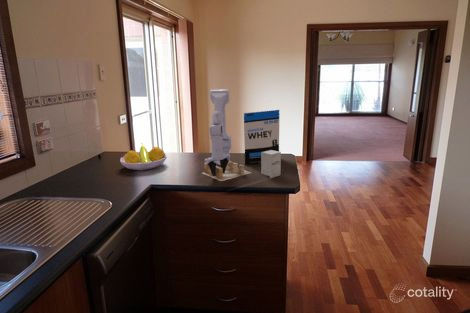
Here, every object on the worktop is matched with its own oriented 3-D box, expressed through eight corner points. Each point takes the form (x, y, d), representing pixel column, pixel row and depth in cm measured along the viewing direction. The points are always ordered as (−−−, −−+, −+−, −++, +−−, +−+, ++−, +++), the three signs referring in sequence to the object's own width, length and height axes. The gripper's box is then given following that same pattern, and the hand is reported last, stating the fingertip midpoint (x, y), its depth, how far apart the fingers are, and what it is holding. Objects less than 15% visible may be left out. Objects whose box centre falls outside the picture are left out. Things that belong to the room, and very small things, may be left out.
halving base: (201, 174, 178) (200, 164, 177) (230, 167, 190) (230, 157, 189) (221, 183, 164) (221, 171, 163) (252, 174, 176) (251, 163, 175)
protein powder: (240, 163, 199) (239, 112, 191) (274, 157, 210) (274, 109, 202) (249, 166, 190) (248, 114, 183) (283, 160, 202) (284, 110, 194)
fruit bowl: (162, 173, 183) (161, 153, 180) (113, 174, 184) (111, 154, 181) (172, 159, 210) (171, 142, 207) (130, 160, 211) (128, 143, 208)
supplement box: (271, 178, 169) (271, 154, 166) (260, 175, 175) (260, 151, 171) (281, 175, 174) (281, 151, 170) (270, 172, 179) (270, 149, 176)
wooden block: (204, 172, 179) (204, 163, 178) (207, 171, 180) (206, 162, 179) (220, 178, 169) (219, 168, 167) (222, 177, 169) (222, 168, 168)
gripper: (210, 152, 160) (211, 179, 163) (233, 147, 168) (234, 172, 172) (201, 149, 165) (203, 175, 168) (225, 144, 174) (226, 170, 177)
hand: (218, 174), depth 171 cm, fingers open, 5 cm apart
